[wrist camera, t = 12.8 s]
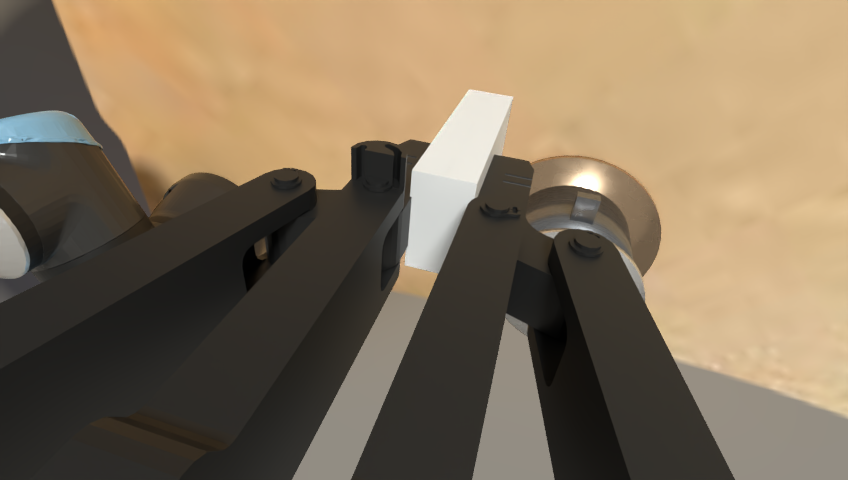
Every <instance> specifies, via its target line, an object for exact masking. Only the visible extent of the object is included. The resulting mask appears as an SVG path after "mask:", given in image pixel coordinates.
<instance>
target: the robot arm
mask: <svg viewBox="0 0 848 480" xmlns="http://www.w3.org/2000/svg"><path fill="white" fill-rule="evenodd" d="M512 101H513V97H511V96H505V95H500V94H494V93H488V92H482V91H476V90H470V89H469V90H468V92H467V93H466V95H465V96H464V97H463V99H462V100H461V102H460V103H459V105H458V106H457V107H456V109H455V110H454V112H453V113H452V114H451V116H450V117H449V119H448V120H447V121H446V123H445V124H444V126H443V127H442V129H441V130H440V131H439V133H438V134H437V136H436V137H435V138H434V140H433V141H432V143H426V142H421V141H416V140H408V141H406V142H404V143H401V144H399V145H397V144H394V143H391V142H386V141H365V142H361V143H357V144H356V145H354V146H352V147H351V175H352V179H351V180H350V181H349V182H348V183H347V185H346V186H345V187H344V188H343V189H342V190H319V189H316V180H315V178H314V176H313V175H311V174H310V173H308V172H306V171H302V170H298V169H294V168H291V169H290V168H283V169H280V170H274V171H271V172H268V173H265V174H263V175H261V176H259V177H257V178H255V179H253V180H251V181H249V182H247V183H245V184H243V185H241V186H239V187H238V186H237V185H235V184H234V183H232V182H231V181H229V180H227V179H225V178H223V177H220V176H217V175H214V174H210V173H194V174H190V175H188V176H186V177H184V178H183V179H181V180H179V181H178V182H176V183H175V184H173V185H172V186H171V187H170V188H169V189H168V191H167V192H166V194H165V196H164V198H163V201H161V202H160V204H159V205H158V206H157V207H156V209H155V210H154V211H153V213H152V214H151V216H150V217H149V218H148V217H147V215H146V214H145V212H144V211H143V209H142V208H141V207H140V205H139V204H138V202H137V201H136V199H135V198H134V196H133V195H132V193H131V192H130V191H129V189H128V188H127V186H126V185H125V183H124V182H123V181H122V179H121V178H120V176H119V175H118V173H117V172H116V170H115V169H114V167H113V166H112V165H111V163H110V162H109V160H108V159H107V157H106V156H105V154H104V153H103V152H102V150H103V148H102V146H101V145H100V144H99V143H98V142H96V141H95V140H94V139H93V137H92V136H91V135H90V134H89V132H88V131H87V129H86V128H85V127H84V125H83V124H82V123H81V122H80V120H79V119H77V118H76V117H75V116H73V115H71V114H69V113H66V112H62V111H42V112H35V113H28V114H23V115H17V116H12V117H8V118H3V119H0V278H7V279H14V278H18V277H20V276H22V275H24V274H26V273H27V272H29V271H31V272H32V273H33V274H34V276H35V277H36V278H37V279H38V280H39V281H40V282H41V284H38V285H36V286H34V287H32V288H30V289H28V290H26V291H24V292H22V293H20V294H18V295H16V296H14V297H12V298H10V299H8V300H6V301H4V302H2V303H0V480H292V478H293V476H294V474H295V472H296V471H297V469H298V467H299V465H300V463H301V461H302V459H303V457H304V455H305V453H306V451H307V450H308V448H309V446H310V444H311V442H312V440H313V438H314V436H315V434H316V432H317V431H318V429H319V427H320V425H321V423H322V421H323V419H324V417H325V415H326V413H327V411H328V410H329V408H330V406H331V404H332V402H333V400H334V398H335V396H336V394H337V392H338V390H339V389H340V387H341V385H342V383H343V381H344V379H345V377H346V375H347V373H348V371H349V370H350V368H351V366H352V364H353V362H354V360H355V358H356V356H357V354H358V353H359V350H360V349H361V347H362V345H363V343H364V341H365V339H366V337H367V335H368V334H369V332H370V329H371V328H372V326H373V324H374V322H375V320H376V318H377V316H378V314H379V313H380V311H381V309H382V307H383V305H384V303H385V301H386V299H387V297H388V295H389V294H390V292H391V290H392V288H393V286H394V284H395V282H396V280H397V278H398V276H399V269H400V259H401V257H402V255H403V254H404V252H405V250H406V255H405V265H406V266H410V267H414V268H418V269H422V270H426V271H430V272H434V273H438V276H437V278H436V281H435V283H434V286H433V288H432V290H431V293H430V295H429V297H428V300H427V302H426V305H425V307H424V309H423V312H422V314H421V316H420V319H419V321H418V323H417V326H416V328H415V330H414V333H413V335H412V338H411V340H410V342H409V345H408V347H407V349H406V352H405V354H404V357H403V359H402V361H401V363H400V366H399V368H398V370H397V373H396V375H395V378H394V380H393V382H392V385H391V387H390V389H389V392H388V394H387V396H386V399H385V401H384V403H383V406H382V408H381V411H380V413H379V415H378V418H377V420H376V422H375V425H374V427H373V429H372V432H371V434H370V436H369V439H368V441H367V444H366V446H365V448H364V451H363V453H362V456H361V458H360V460H359V462H358V465H357V467H356V470H355V472H354V474H353V476H352V479H351V480H472V476H473V471H474V467H475V462H476V457H477V452H478V447H479V443H480V438H481V433H482V428H483V423H484V418H485V413H486V408H487V404H488V398H489V394H490V389H491V384H492V379H493V374H494V369H495V364H496V360H497V355H498V350H499V345H500V340H501V335H502V330H503V325H504V321H505V316H506V313H507V314H508V315H510V316H512V317H514V318H516V319H518V320H520V321H522V322H524V323H526V324H528V328H527V336H528V340H529V347H530V351H531V357H532V362H533V368H534V373H535V378H536V383H537V389H538V394H539V399H540V404H541V409H542V415H543V420H544V426H545V430H546V436H547V441H548V447H549V452H550V457H551V462H552V467H553V473H554V478H555V480H735V479H734V477H733V475H732V473H731V471H730V469H729V467H728V465H727V463H726V461H725V459H724V457H723V455H722V453H721V451H720V449H719V447H718V445H717V444H716V441H715V440H714V438H713V436H712V434H711V432H710V430H709V428H708V426H707V424H706V422H705V420H704V418H703V416H702V414H701V412H700V410H699V408H698V406H697V404H696V402H695V400H694V398H693V396H692V394H691V392H690V390H689V388H688V386H687V384H686V383H685V381H684V379H683V377H682V375H681V373H680V371H679V369H678V367H677V365H676V363H675V361H674V359H673V357H672V355H671V353H670V351H669V349H668V347H667V345H666V343H665V341H664V339H663V337H662V335H661V333H660V331H659V329H658V327H657V325H656V323H655V322H654V320H653V318H652V316H651V314H650V312H649V310H648V308H647V306H646V304H645V302H644V300H643V298H642V296H641V294H640V292H639V290H638V288H637V286H636V284H635V282H634V280H633V278H632V276H631V274H630V272H629V270H628V268H627V266H626V264H625V263H624V261H623V259H622V257H621V255H620V253H619V251H618V249H617V248H616V247H615V245H614V244H613V243H612V242H611V241H609V240H608V239H606V238H605V237H603V236H602V235H600V234H598V233H594V232H592V231H589V230H582V229H567V230H563V231H560V232H559V233H558V234H557V235H556V236H555V237H554V239H553V238H551V237H549V236H546V235H544V234H543V233H541V232H539V231H537V230H536V229H535V228H533V227H532V226H531V225H530V224H529V223H528V221H527V219H526V209H527V204H528V199H529V194H530V189H531V184H532V179H533V174H534V169H533V167H532V166H531V164H530V163H529V161H525V160H520V159H515V158H510V157H505V156H502V152H503V146H504V141H505V136H506V131H507V126H508V121H509V116H510V111H511V106H512Z"/></svg>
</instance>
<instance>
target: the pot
mask: <svg viewBox="0 0 848 480" xmlns="http://www.w3.org/2000/svg"><path fill="white" fill-rule="evenodd" d="M530 164H531V166H532V167H533V169H534V174H533V179H532V184H531V189H530V194H529V199H528V204H527V209H526V219H527V221H528V223H529V224H530V225H531V226H532V227H533V228H535V229H536V230H537V231H541V230H545V229H552V228H570V229H582V230H589V231H592V232H594V233H598V234H600V235H602V236H603V237H605V238H606V239H608V240H610V241H611V242H613V243H615V244H616V245H617V246H619V247H620V248H621V249H623V250H624V251H625V252H626V253H627V254H628V255H629V256H630V257H631V258H632V260H633V261H634V262H635V264H636V265H637V267H638V269H639V271H640V273H641V276H642V277H643V276H644V275H645V273H646V272H647V271H648V269H649V268H650V267H651V265H652V263H653V261H654V260H655V258H656V255H657V252H658V250H659V245H660V240H661V225H660V219H659V215H658V212H657V209H656V206H655V204H654V202H653V200H652V198H651V196H650V195H649V193H648V192H647V191H646V189H645V188H644V187H643V186H642V185H641V184H640V183H639V182H638V181H637V180H636V179H635V178H634V177H632V176H631V175H630V174H628V173H627V172H626V171H624V170H622V169H620V168H618V167H617V166H615V165H612V164H610V163H607V162H605V161H602V160H598V159H594V158H589V157H582V156H558V157H550V158H546V159H542V160H538V161H535V162H533V163H530Z"/></svg>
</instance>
